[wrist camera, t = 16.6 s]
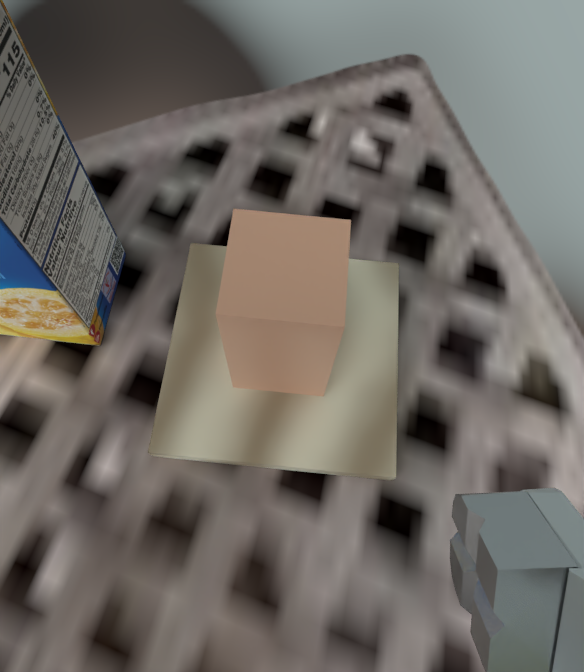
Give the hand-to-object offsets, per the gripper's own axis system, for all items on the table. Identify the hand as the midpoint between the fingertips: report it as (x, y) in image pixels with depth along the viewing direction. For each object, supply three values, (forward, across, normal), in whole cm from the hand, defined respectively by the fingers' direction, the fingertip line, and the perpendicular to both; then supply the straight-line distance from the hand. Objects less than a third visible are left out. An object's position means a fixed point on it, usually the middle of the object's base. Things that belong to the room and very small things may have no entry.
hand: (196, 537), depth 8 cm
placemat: (+24, 0, +7) cm, 25 cm away
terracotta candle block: (+23, 0, +6) cm, 24 cm away
